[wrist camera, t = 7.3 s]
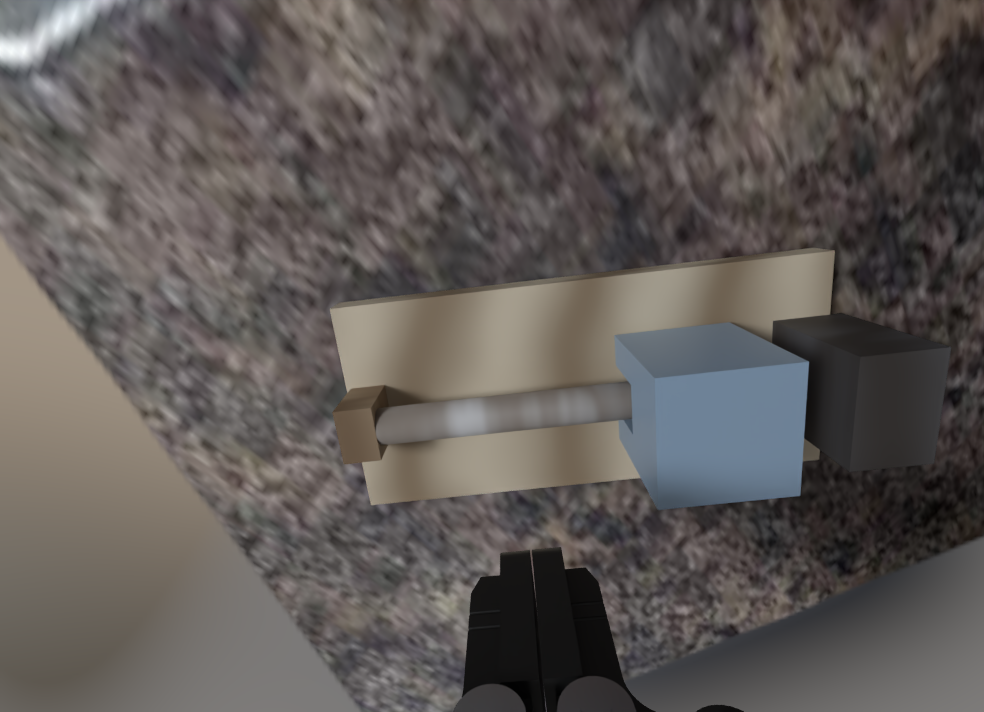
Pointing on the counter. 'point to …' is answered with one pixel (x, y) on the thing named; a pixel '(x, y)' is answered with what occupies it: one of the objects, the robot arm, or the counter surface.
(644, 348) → the blue sleeve
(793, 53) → the counter surface
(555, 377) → the rail board
